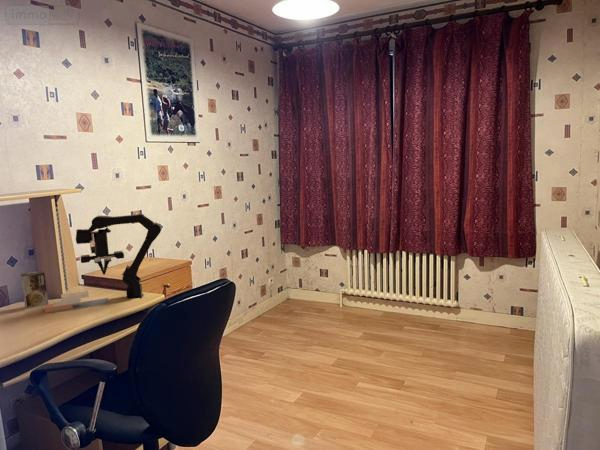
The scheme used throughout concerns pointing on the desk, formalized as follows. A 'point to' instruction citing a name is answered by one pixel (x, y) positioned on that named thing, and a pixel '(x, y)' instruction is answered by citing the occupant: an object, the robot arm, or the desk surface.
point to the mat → (86, 304)
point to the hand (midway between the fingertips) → (104, 274)
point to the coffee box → (34, 289)
